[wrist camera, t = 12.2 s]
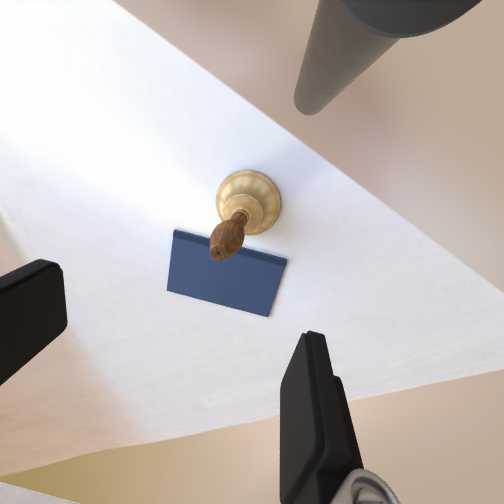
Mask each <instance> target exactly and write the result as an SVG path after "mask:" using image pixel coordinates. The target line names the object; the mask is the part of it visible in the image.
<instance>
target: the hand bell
mask: <svg viewBox="0 0 504 504" xmlns="http://www.w3.org/2000/svg"><path fill="white" fill-rule="evenodd" d="M280 207H281V200H280V195H279V192H278V190H277V188H276V186H275V184H274V183H273V182H272V181H271V180H270V179H269V178H268V177H267V176H265V175H264V174H262V173H259V172H256V171H252V170H243V171H238V172H236V173H233V174H232V175H230V176H228V177H227V178H226V179H225V180H224V181H223V182H222V184H221V185H220V187H219V189H218V192H217V196H216V208H217V212H218V214H219V217H220V218H221V220H222V221H223V222H221V223H220V224H219V225H218V226H217V227H216V228H215V229H214V230H213V232H212V235H211V238H210V256H211V258H212V259H213V260H215V261H223V260H225V259H226V258H228V257H231V256H233V255H234V254H236V253H237V252H238V251H239V249H240V248H241V246H242V244H243V241H244V236H245V235H255V234H259V233H262V232H264V231H266V230H267V229H269V228H270V227H271V226H272V225H273V224H274V222H275V221H276V219H277V217H278V215H279V212H280Z"/></svg>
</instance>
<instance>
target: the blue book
mask: <svg viewBox="0 0 504 504" xmlns="http://www.w3.org/2000/svg"><path fill="white" fill-rule="evenodd" d="M286 262H287V259H284V258H280V257H277V256H273V255H269V254H265V253H261V252H258V251H254V250H250V249H246V248H243V247H241V248H240V249H239V251H238V252H237V253H236V254H234V255H233V256H231V257H228V258H226V259H225V260H223V261H215V260H213V259H212V258H211V256H210V239H209V238H205V237H201V236H197V235H194V234H190V233H186V232H182V231H179V230H174V232H173V243H172V251H171V259H170V268H169V276H168V284H167V291H171V292H175V293H178V294H182V295H186V296H190V297H193V298H197V299H201V300H205V301H208V302H212V303H216V304H220V305H224V306H227V307H231V308H235V309H239V310H242V311H246V312H250V313H254V314H258V315H261V316H265V317H268V316H269V313H270V310H271V307H272V304H273V301H274V298H275V295H276V292H277V289H278V286H279V283H280V280H281V277H282V274H283V271H284V268H285V265H286Z"/></svg>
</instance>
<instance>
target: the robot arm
mask: <svg viewBox="0 0 504 504" xmlns="http://www.w3.org/2000/svg"><path fill="white" fill-rule="evenodd" d="M66 327H67V311H66V301H65V290H64V279H63V271H62V269H61V268H60V266H59V264H57V263H55V262H51V261H47V260H43V259H38V260H35V261H33V262H31V263H29V264H27V265H25V266H22V267H20V268H18V269H16V270H14V271H12V272H10V273H8V274H5V275H3V276H1V277H0V386H1V385H2V384H3V383H4V382H5V381H6V380H8V379H9V378H10V377H11V376H12V375H13V374H15V373H16V372H17V371H18V370H19V369H20V368H22V367H23V366H24V365H25V364H26V363H27V362H29V361H30V360H31V359H32V358H33V357H34V356H36V355H37V354H38V353H39V352H40V351H41V350H43V349H44V348H45V347H46V346H47V345H48V344H49V343H51V342H52V341H53V340H54V339H55V338H56V337H58V336H59V335H60V334H61V333H62V332H63V331H64V330H65V329H66ZM280 502H281V504H401V503H400V502H399V500H398V499H397V497H396V495H395V493H394V492H393V491H392V490H391V488H390V487H389V486H388V485H387V483H385V481H383V480H382V479H381V478H380V477H379V476H378V475H376V474H374V473H372V472H370V471H369V470H365V469H364V467H363V463H362V459H361V456H360V451H359V447H358V443H357V439H356V436H355V432H354V428H353V424H352V420H351V416H350V412H349V408H348V404H347V400H346V396H345V392H344V388H343V384H342V381H341V379H340V378H339V377H338V376H334V375H333V370H332V366H331V362H330V357H329V353H328V348H327V344H326V339H325V336H324V335H323V334H320V333H317V332H313V331H308V332H307V334H305V333H302V335H301V337H300V339H299V341H298V344H297V346H296V349H295V351H294V353H293V356H292V358H291V360H290V363H289V365H288V367H287V370H286V372H285V375H284V377H283V379H282V382H281V388H280ZM0 504H80V503H77V502H73V501H69V500H66V499H62V498H58V497H55V496H51V495H47V494H44V493H40V492H36V491H32V490H29V489H25V488H21V487H18V486H14V485H10V484H6V483H3V482H0Z"/></svg>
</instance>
